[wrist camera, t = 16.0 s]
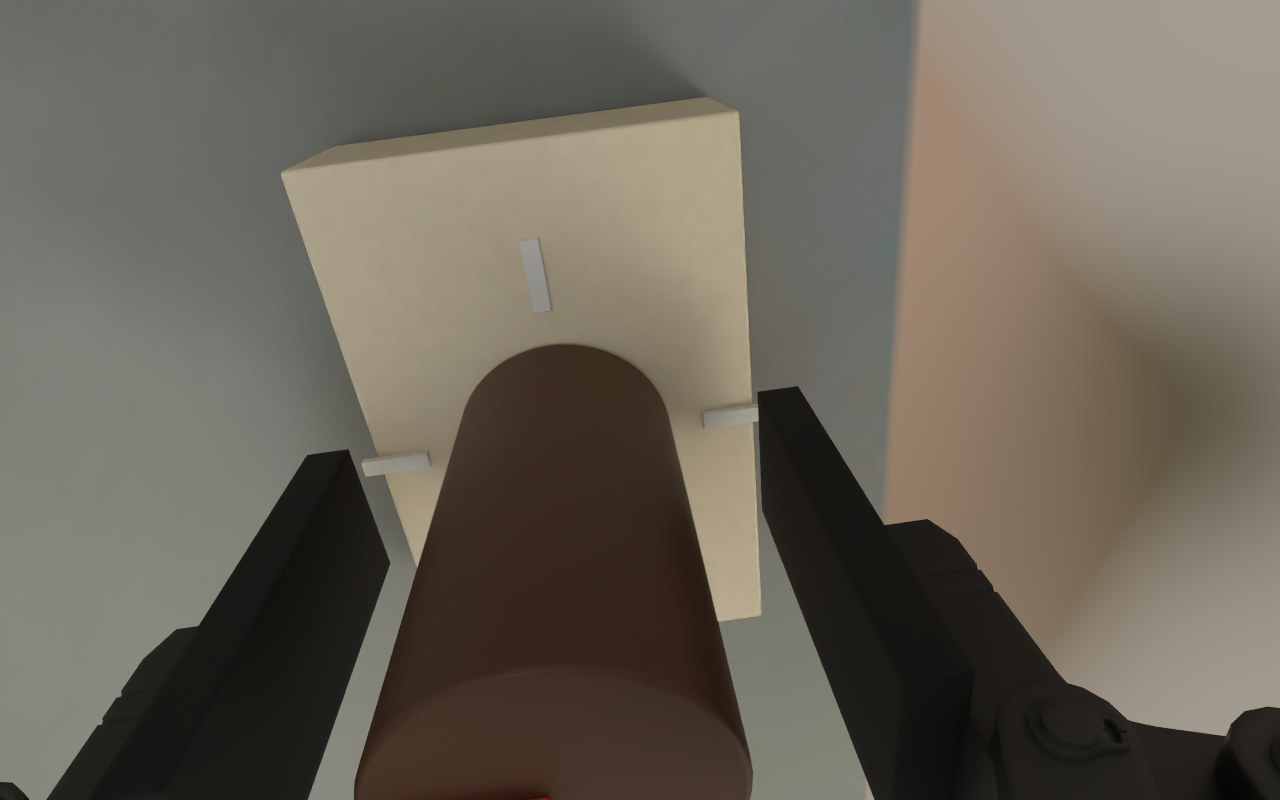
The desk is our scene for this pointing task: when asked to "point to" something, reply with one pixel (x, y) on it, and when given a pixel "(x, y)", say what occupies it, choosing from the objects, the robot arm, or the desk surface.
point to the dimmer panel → (547, 290)
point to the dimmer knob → (559, 608)
